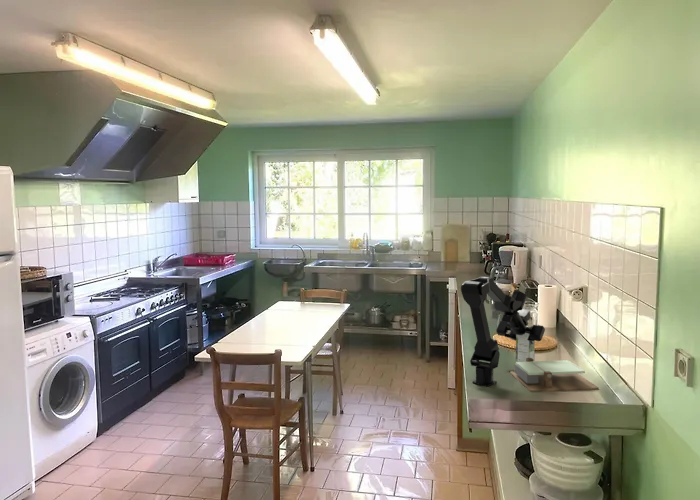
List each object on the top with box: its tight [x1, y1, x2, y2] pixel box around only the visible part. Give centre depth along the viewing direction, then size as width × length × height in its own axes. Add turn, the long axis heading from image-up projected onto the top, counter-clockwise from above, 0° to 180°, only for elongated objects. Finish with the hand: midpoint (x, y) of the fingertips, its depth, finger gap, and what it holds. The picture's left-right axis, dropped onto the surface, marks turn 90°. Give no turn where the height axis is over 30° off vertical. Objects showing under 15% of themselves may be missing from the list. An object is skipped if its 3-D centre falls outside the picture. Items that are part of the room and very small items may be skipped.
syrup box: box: [514, 333, 536, 364], centre depth 221 cm, size 6×6×14 cm
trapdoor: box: [514, 359, 586, 384], centre depth 198 cm, size 20×14×4 cm
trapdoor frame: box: [509, 358, 600, 393], centre depth 198 cm, size 24×22×6 cm
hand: (526, 342), depth 222 cm, fingers open, 6 cm apart
